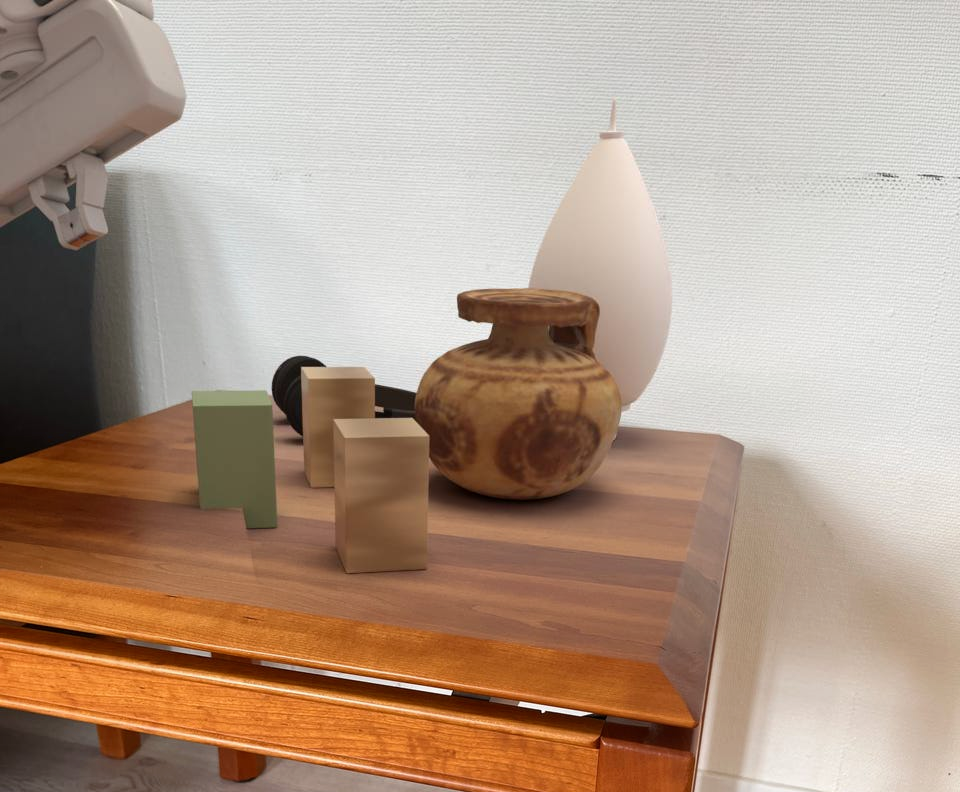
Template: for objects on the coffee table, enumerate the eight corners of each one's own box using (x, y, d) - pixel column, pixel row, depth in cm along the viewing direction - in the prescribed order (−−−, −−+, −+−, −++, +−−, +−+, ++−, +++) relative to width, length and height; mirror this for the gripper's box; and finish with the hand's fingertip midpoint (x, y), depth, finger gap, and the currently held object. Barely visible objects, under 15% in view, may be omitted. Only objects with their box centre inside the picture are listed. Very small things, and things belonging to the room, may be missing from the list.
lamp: (677, 451, 114) (721, 97, 99) (541, 454, 110) (565, 86, 96) (627, 421, 128) (658, 106, 113) (504, 422, 124) (521, 97, 110)
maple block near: (346, 573, 74) (344, 437, 70) (335, 547, 80) (333, 418, 76) (427, 569, 76) (429, 435, 72) (410, 543, 81) (412, 417, 77)
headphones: (271, 346, 119) (434, 372, 126) (264, 410, 122) (424, 431, 129) (293, 371, 104) (475, 398, 112) (284, 443, 107) (463, 464, 114)
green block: (201, 530, 82) (192, 405, 78) (200, 509, 87) (191, 390, 83) (277, 527, 83) (272, 404, 79) (271, 506, 89) (266, 390, 85)
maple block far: (311, 487, 94) (307, 378, 90) (304, 471, 100) (300, 366, 96) (375, 485, 96) (375, 377, 92) (365, 469, 101) (364, 366, 97)
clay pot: (538, 501, 82) (479, 251, 80) (401, 532, 97) (347, 321, 94) (678, 464, 95) (631, 246, 92) (538, 497, 109) (494, 309, 106)
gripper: (-114, 94, 70) (-54, 290, 71) (96, -62, 61) (161, 166, 62) (-35, 120, 76) (20, 303, 77) (168, -18, 67) (227, 190, 68)
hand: (85, 241), depth 69 cm, fingers closed
